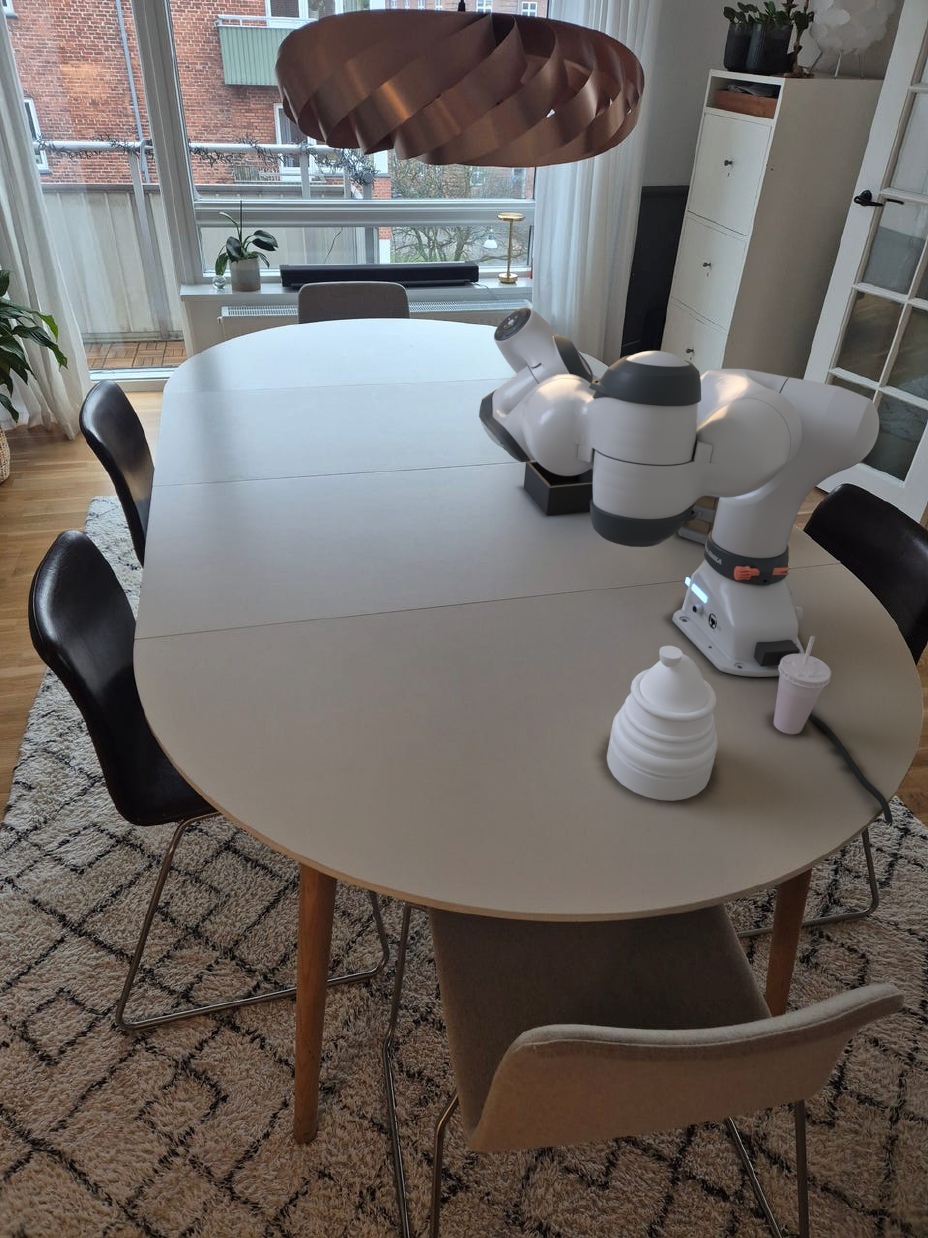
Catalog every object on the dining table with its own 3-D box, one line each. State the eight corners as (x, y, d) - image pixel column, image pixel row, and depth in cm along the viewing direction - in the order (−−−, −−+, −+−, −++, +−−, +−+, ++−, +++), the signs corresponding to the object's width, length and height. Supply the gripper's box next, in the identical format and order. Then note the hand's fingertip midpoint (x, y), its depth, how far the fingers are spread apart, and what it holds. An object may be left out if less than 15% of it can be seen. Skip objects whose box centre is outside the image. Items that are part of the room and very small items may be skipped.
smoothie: (802, 710, 119) (829, 625, 112) (820, 741, 114) (849, 654, 106) (756, 710, 119) (780, 625, 111) (772, 741, 114) (798, 654, 106)
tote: (604, 509, 171) (608, 482, 168) (546, 515, 168) (549, 487, 165) (579, 482, 181) (582, 456, 178) (523, 488, 178) (525, 461, 175)
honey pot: (660, 816, 102) (687, 694, 92) (585, 754, 110) (603, 637, 100) (731, 773, 108) (763, 656, 98) (656, 718, 117) (678, 605, 107)
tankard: (724, 513, 171) (740, 441, 163) (751, 543, 161) (770, 468, 153) (627, 517, 168) (639, 444, 160) (649, 548, 158) (662, 471, 150)
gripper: (512, 381, 152) (550, 425, 162) (587, 416, 138) (624, 463, 148) (534, 352, 152) (571, 398, 162) (612, 385, 138) (647, 433, 148)
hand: (597, 429), depth 155 cm, fingers closed on candle, 5 cm apart
